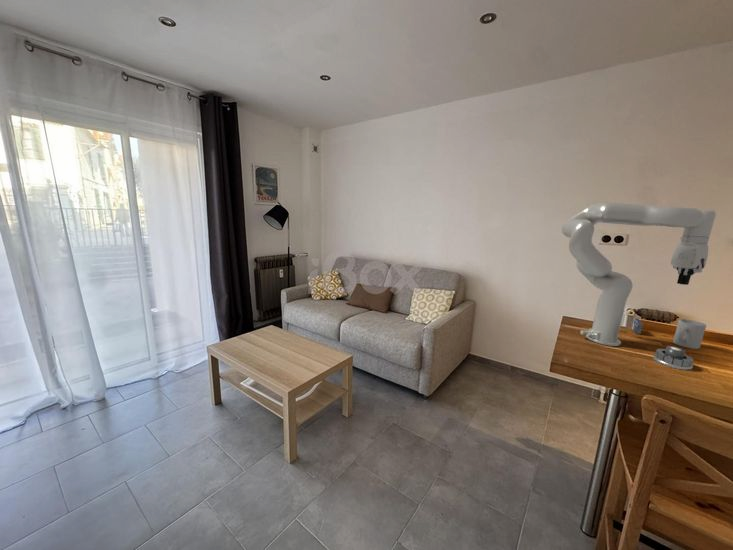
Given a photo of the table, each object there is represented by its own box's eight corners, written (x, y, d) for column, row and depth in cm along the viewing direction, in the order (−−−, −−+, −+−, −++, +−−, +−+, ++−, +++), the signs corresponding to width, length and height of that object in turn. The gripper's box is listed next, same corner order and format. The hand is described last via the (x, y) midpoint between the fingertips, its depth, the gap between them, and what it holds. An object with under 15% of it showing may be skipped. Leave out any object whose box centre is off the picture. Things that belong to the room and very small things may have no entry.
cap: (672, 363, 114) (675, 351, 113) (659, 356, 119) (662, 345, 118) (686, 364, 114) (689, 352, 113) (673, 357, 119) (676, 346, 118)
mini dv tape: (630, 329, 152) (633, 318, 151) (634, 329, 152) (637, 318, 150) (636, 334, 145) (638, 323, 144) (640, 335, 144) (642, 323, 143)
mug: (678, 339, 140) (684, 318, 138) (703, 347, 133) (710, 324, 130) (664, 343, 136) (671, 320, 133) (690, 351, 128) (697, 327, 126)
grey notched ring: (670, 369, 111) (673, 360, 111) (645, 355, 122) (647, 347, 121) (701, 371, 111) (703, 362, 110) (672, 357, 122) (675, 349, 121)
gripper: (667, 238, 128) (657, 279, 132) (704, 242, 114) (691, 288, 118) (685, 239, 128) (674, 280, 132) (724, 243, 113) (711, 289, 117)
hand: (682, 284), depth 125 cm, fingers closed
